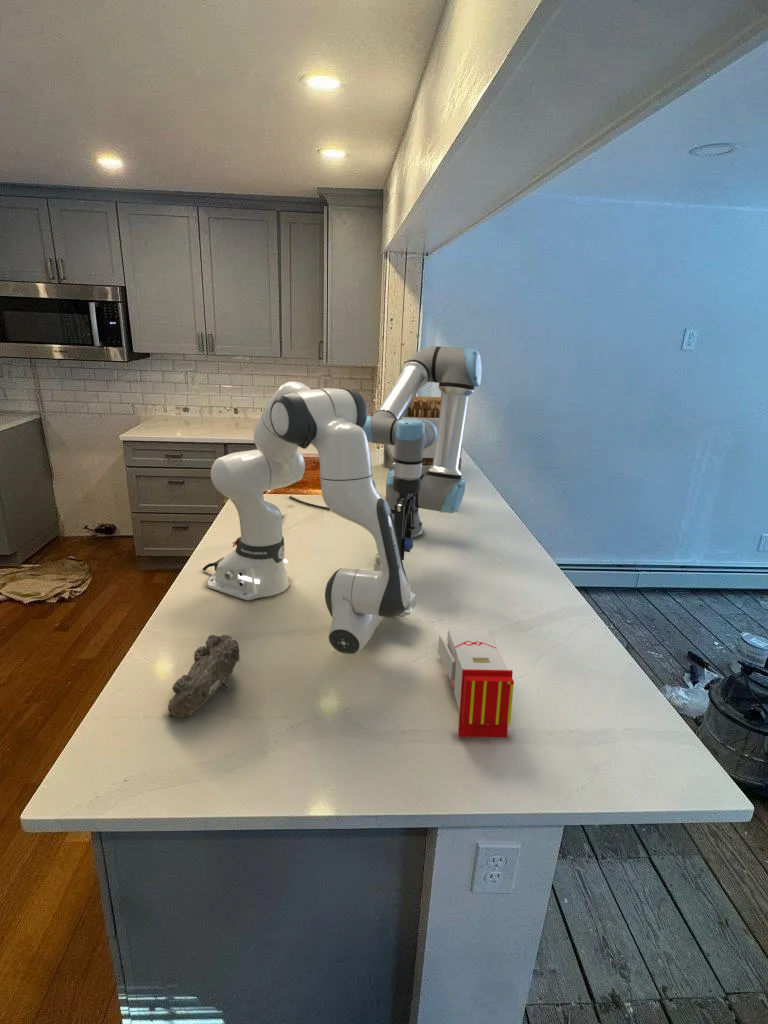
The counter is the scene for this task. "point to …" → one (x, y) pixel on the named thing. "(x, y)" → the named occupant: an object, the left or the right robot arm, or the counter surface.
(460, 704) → the toy
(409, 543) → the lid
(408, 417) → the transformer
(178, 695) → the fossil
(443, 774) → the counter surface
